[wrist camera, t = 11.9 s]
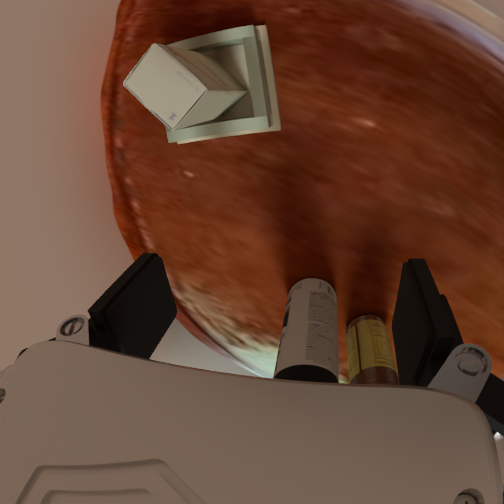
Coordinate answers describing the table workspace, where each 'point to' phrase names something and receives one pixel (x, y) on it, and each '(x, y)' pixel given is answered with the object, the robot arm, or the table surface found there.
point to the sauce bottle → (370, 352)
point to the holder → (247, 73)
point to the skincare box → (183, 86)
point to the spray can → (309, 334)
